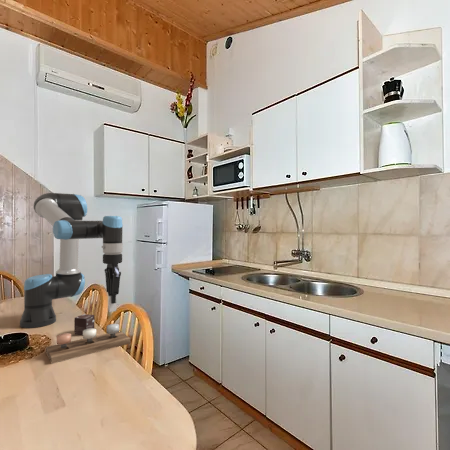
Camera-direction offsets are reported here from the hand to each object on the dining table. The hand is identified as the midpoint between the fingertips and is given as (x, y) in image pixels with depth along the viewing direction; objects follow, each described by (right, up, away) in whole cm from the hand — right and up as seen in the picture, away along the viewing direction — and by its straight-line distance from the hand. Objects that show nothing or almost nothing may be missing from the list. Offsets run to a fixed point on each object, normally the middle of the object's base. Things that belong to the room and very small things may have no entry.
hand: (112, 310), depth 123 cm
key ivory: (-7, -10, -6) cm, 14 cm away
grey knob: (0, -11, 0) cm, 11 cm away
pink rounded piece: (-14, -10, -12) cm, 21 cm away
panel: (-7, -13, -6) cm, 16 cm away
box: (-17, -13, +11) cm, 24 cm away
